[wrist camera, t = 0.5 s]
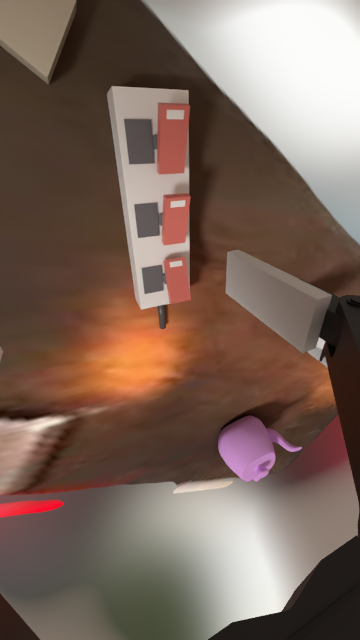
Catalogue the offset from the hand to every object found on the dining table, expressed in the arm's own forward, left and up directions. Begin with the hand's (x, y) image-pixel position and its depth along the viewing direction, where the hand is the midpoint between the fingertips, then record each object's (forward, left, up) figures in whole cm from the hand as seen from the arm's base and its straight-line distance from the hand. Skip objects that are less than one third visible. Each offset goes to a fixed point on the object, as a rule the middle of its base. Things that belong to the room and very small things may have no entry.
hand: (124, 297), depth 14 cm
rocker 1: (+11, +8, -22) cm, 26 cm away
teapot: (+33, -71, -28) cm, 83 cm away
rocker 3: (+11, -10, -22) cm, 27 cm away
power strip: (+10, -4, -28) cm, 30 cm away
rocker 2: (+11, -1, -22) cm, 25 cm away
